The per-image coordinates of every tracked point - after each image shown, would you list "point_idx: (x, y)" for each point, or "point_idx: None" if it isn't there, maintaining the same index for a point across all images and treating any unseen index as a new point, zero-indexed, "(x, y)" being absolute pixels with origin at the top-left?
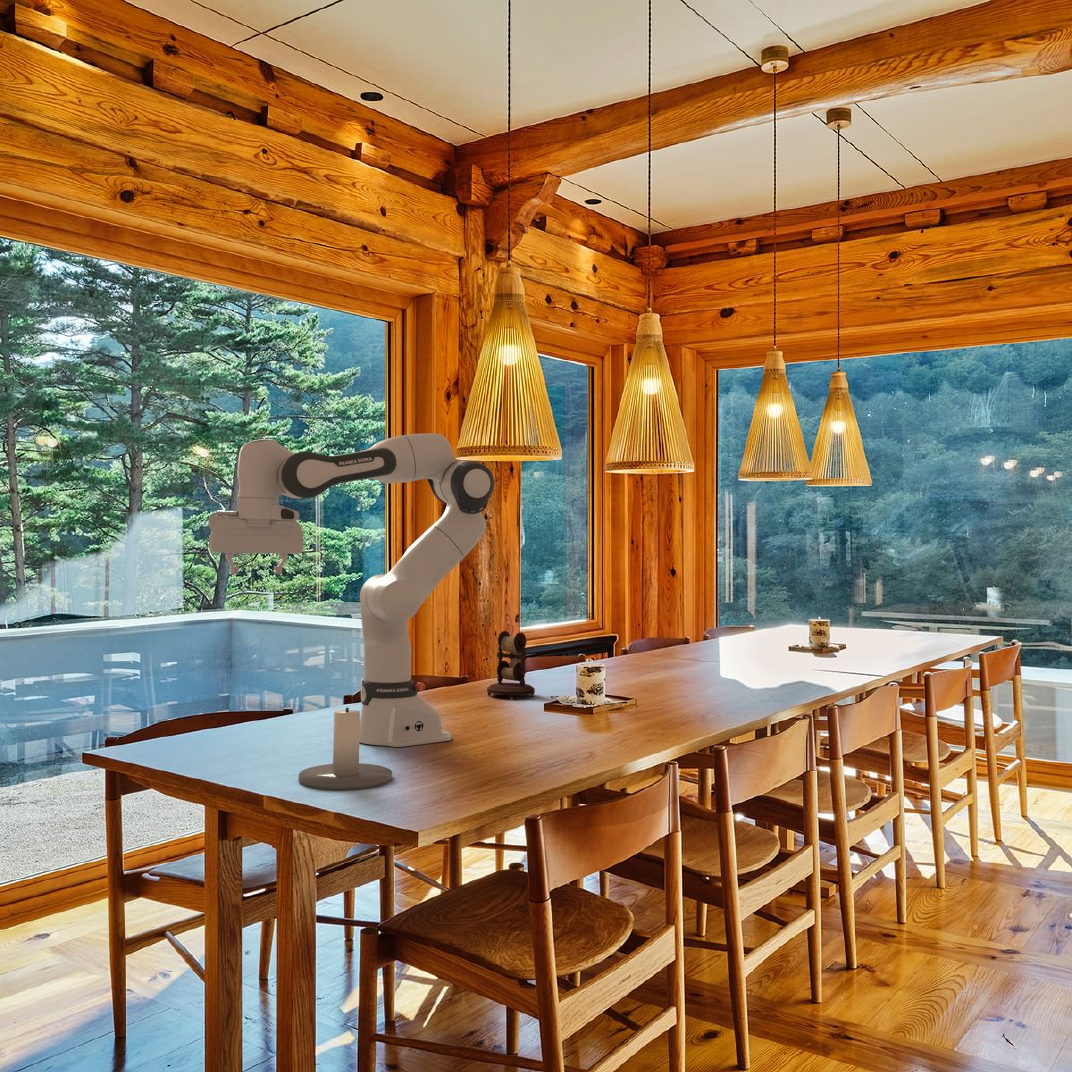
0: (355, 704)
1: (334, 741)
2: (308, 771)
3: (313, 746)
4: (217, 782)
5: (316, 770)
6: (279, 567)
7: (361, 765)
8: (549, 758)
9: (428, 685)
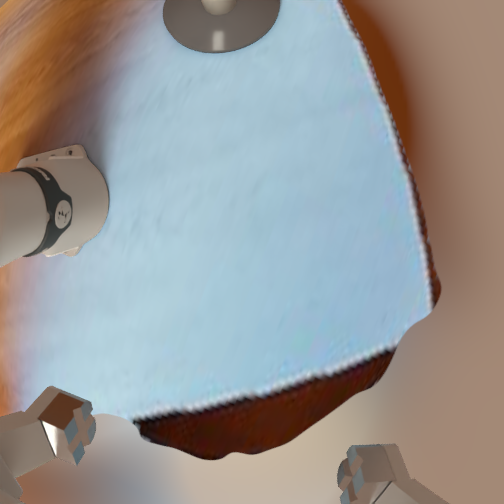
0: None
1: None
2: (257, 26)
3: (169, 209)
4: (366, 66)
5: (245, 26)
6: (43, 414)
7: (182, 28)
8: (8, 43)
9: None
